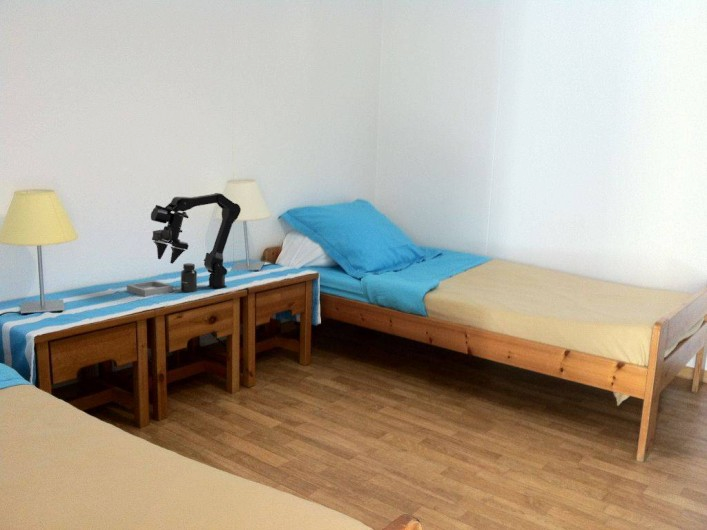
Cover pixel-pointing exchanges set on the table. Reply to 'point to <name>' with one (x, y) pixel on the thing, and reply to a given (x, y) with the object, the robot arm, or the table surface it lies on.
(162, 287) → the tray
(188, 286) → the supplement bottle
